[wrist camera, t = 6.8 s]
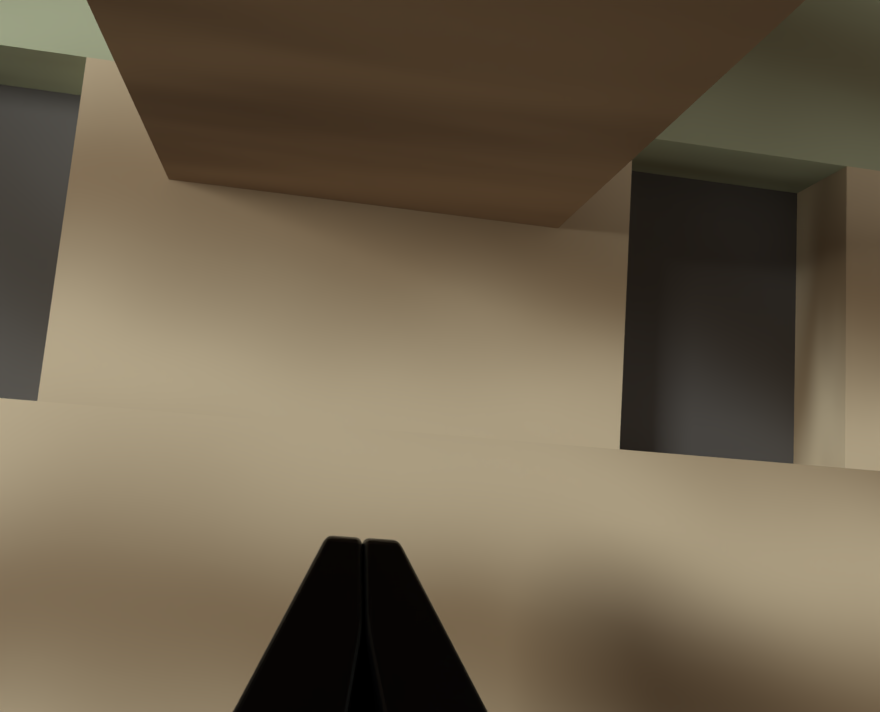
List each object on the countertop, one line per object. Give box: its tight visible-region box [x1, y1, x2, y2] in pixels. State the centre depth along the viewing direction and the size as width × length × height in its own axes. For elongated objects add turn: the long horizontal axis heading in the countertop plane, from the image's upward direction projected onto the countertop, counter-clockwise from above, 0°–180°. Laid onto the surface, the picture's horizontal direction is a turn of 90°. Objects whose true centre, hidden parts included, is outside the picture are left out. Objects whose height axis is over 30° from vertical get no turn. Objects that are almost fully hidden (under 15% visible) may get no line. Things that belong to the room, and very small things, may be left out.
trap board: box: [0, 0, 880, 712], centre depth 15 cm, size 20×22×4 cm
